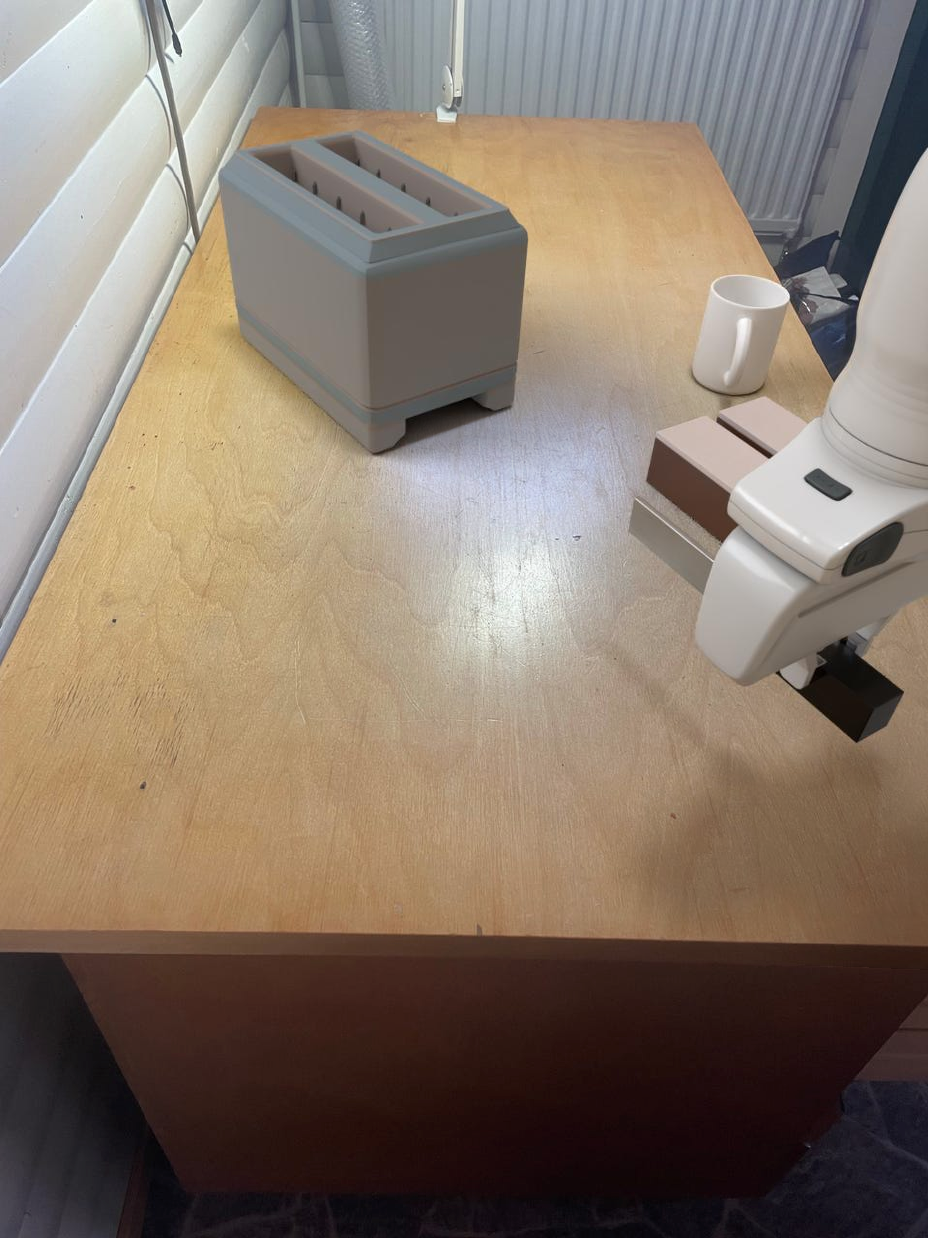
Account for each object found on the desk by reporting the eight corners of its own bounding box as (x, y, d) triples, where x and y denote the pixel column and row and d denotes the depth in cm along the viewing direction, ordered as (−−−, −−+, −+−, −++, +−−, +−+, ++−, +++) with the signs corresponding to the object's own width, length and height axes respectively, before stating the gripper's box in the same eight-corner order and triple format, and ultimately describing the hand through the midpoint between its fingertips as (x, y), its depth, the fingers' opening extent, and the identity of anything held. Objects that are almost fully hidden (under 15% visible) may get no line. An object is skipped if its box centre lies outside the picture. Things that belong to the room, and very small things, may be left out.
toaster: (357, 290, 117) (350, 114, 102) (519, 406, 98) (537, 210, 83) (222, 325, 108) (194, 138, 94) (370, 459, 89) (362, 251, 75)
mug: (763, 419, 98) (791, 329, 91) (686, 407, 99) (707, 316, 92) (764, 366, 106) (789, 280, 99) (692, 355, 107) (712, 269, 100)
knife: (887, 726, 53) (905, 691, 51) (856, 744, 52) (873, 709, 50) (644, 524, 66) (651, 490, 64) (616, 535, 65) (622, 501, 63)
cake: (855, 516, 86) (876, 467, 82) (746, 563, 80) (763, 511, 76) (750, 443, 94) (765, 395, 90) (645, 480, 89) (656, 431, 85)
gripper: (981, 388, 50) (895, 578, 60) (704, 496, 42) (655, 695, 52) (1089, 442, 47) (978, 636, 56) (806, 573, 39) (733, 773, 48)
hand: (821, 665), depth 54 cm, fingers closed on knife, 2 cm apart
